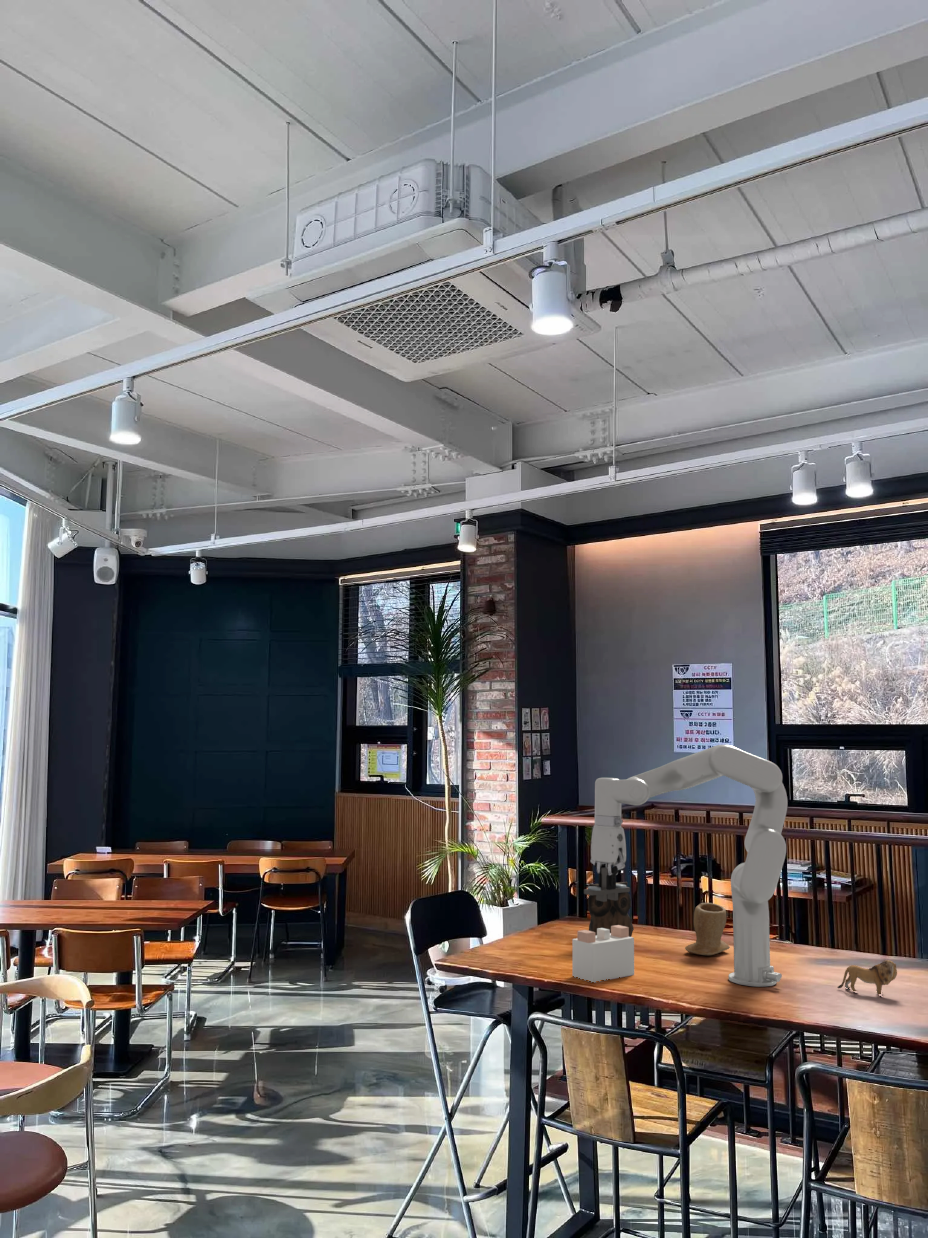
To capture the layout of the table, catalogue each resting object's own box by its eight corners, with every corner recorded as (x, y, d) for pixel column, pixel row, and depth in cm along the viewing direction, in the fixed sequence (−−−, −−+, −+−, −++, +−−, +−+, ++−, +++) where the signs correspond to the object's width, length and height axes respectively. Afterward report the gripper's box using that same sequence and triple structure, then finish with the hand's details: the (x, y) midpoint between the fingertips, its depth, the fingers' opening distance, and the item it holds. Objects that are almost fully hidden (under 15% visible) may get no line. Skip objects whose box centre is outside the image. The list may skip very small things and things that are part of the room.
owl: (635, 945, 299) (634, 881, 302) (616, 952, 289) (616, 886, 292) (599, 940, 307) (599, 877, 309) (580, 946, 297) (580, 882, 299)
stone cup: (714, 960, 280) (713, 909, 282) (680, 954, 289) (679, 903, 291) (740, 953, 291) (739, 903, 293) (706, 947, 299) (705, 898, 301)
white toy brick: (634, 975, 262) (633, 928, 263) (592, 982, 252) (592, 934, 254) (613, 969, 268) (613, 924, 270) (572, 976, 259) (572, 929, 260)
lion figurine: (898, 995, 245) (896, 959, 246) (898, 1000, 240) (896, 963, 241) (838, 988, 251) (836, 953, 252) (836, 992, 246) (835, 957, 247)
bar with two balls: (630, 899, 266) (630, 867, 267) (592, 903, 257) (592, 870, 258) (621, 897, 268) (621, 865, 270) (583, 901, 260) (583, 868, 261)
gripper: (638, 824, 261) (637, 892, 259) (597, 819, 274) (596, 883, 272) (619, 824, 257) (618, 894, 254) (578, 819, 270) (577, 885, 267)
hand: (607, 888), depth 263 cm, fingers closed on bar with two balls, 2 cm apart
